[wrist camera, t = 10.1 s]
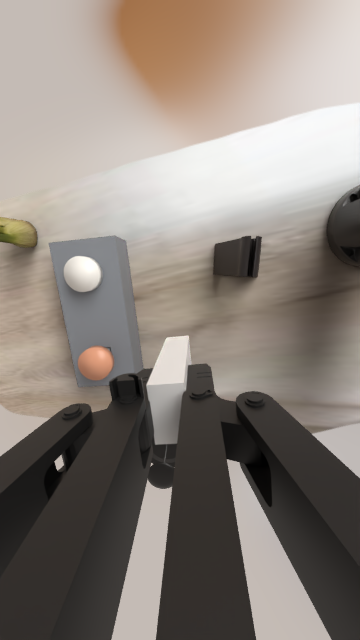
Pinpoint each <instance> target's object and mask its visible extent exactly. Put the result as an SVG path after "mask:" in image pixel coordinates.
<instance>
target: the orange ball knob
mask: <svg viewBox="0 0 360 640" xmlns="http://www.w3.org/2000/svg"><path fill="white" fill-rule="evenodd" d="M113 367H114V357H113V355H112V353H111V347H103V346H92V347H90V348H88V349H87V350H85V351H84V352H83V353H82V354H81V355H80V356H79V359H78V368H79V370H80V372H81V373H82V374H83V375H84V376H85V377H86V378H88V379H90V380H101V379H104V378H105V377H106V376H107V375H108V374H109V373H110V372H111V370H112V369H113Z"/></svg>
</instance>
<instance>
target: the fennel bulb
mask: <svg viewBox="0 0 360 640" xmlns="http://www.w3.org/2000/svg"><path fill="white" fill-rule="evenodd" d="M0 242H5V243H11V244H14V245H16V246H19V247H25V248H29V247H34V246H35V245H36V244H37V231H36V229H35V227H34V226H33V225H32V224H31V223H29V222H27V221H22V220H15V219H9V218H3V217H0Z"/></svg>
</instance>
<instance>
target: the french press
mask: <svg viewBox="0 0 360 640" xmlns="http://www.w3.org/2000/svg"><path fill="white" fill-rule="evenodd" d="M152 448H153V456H152V461H151V463H153V465H152V466H151V467H150V470H149V474H148V480H149V482H150V483H151V484H152V485H153V486H155V487H157V488H161V489H166V488H170V487H172V486H173V477H174V467H175V458H176V449H177V444H158V445H155V439H154V435H153V439H152Z"/></svg>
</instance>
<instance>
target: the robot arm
mask: <svg viewBox="0 0 360 640" xmlns="http://www.w3.org/2000/svg"><path fill="white" fill-rule="evenodd" d="M327 236H328V241H329V245H330V247H331V249H332V251H333V252H334V254H335V255H336V256H337V257H338V258H339V259H340V260H342V261H343V262H345V263H347V264H350V265H354V266H360V185H359V186H357V187H355V188H353V189H351V190H350V191H349V192H347V193H346V194H345V195H344V196H343V197H342V198H341V199H340V200H339V201H338V202H337V204H336V205H335V207H334V208H333V210H332V212H331V215H330V218H329V221H328V227H327ZM109 385H110V391H111V396H112V402H111V403H110V405H109V406H108V408H107V409H105V410H101V411H97V412H93V413H92V411H91V407H90V406H89V405H88V404H75V405H74V404H73V405H70V406H69V407H66V408H64V409H63V410H61V411H59V412H58V413H57V414H55V415H54V416H53V417H51V418H50V419H49V420H48V421H46V422H45V423H44V424H42V425H41V426H40V427H38V428H37V429H36V430H34V431H33V432H32V433H31V434H29V435H28V436H27V437H25V438H24V439H23V440H21V441H20V442H19V443H17V444H16V445H15V446H14V447H12V448H11V449H10V450H9V451H7V452H6V453H4V454H3V455H2V456H0V640H111V638H112V634H113V629H114V625H115V620H116V616H117V612H118V607H119V603H120V598H121V594H122V589H123V585H124V581H125V576H126V571H127V567H128V563H129V558H130V554H131V549H132V545H133V540H134V536H135V532H136V527H137V523H138V518H139V514H140V510H141V505H142V501H143V496H144V492H145V487H146V483H147V478H148V474H149V470H150V465H151V461H152V456H153V448H152V439H153V435H154V439H155V445H158V444H177V449H176V458H175V467H174V477H173V486H172V495H171V505H170V514H169V523H168V533H167V542H166V551H165V561H164V570H163V579H162V588H161V598H160V607H159V616H158V625H157V635H156V640H256V636H255V631H254V624H253V618H252V612H251V605H250V599H249V594H248V587H247V581H246V576H245V569H244V563H243V556H242V550H241V545H240V539H239V532H238V526H237V520H236V514H235V508H234V501H233V495H232V490H231V484H230V477H229V471H228V465H227V459H229V460H233V461H237V462H240V466H241V468H242V471H243V473H244V474H245V476H246V478H247V480H248V482H249V484H250V486H251V488H252V490H253V491H254V493H255V495H256V497H257V499H258V501H259V503H260V505H261V507H262V509H263V510H264V512H265V514H266V516H267V518H268V520H269V522H270V524H271V525H272V527H273V529H274V531H275V533H276V535H277V537H278V538H279V541H280V542H281V545H282V546H283V548H284V550H285V552H286V554H287V556H288V558H289V560H290V561H291V563H292V565H293V567H294V569H295V571H296V573H297V575H298V577H299V579H300V580H301V582H302V584H303V586H304V588H305V590H306V592H307V594H308V596H309V598H310V599H311V601H312V603H313V605H314V607H315V609H316V611H317V613H318V614H319V617H320V618H321V620H322V622H323V624H324V626H325V628H326V630H327V632H328V634H329V635H330V637H331V639H332V640H360V478H359V477H358V476H356V475H355V474H354V473H353V472H352V471H351V470H350V469H349V468H348V467H347V466H345V464H343V463H342V462H341V461H340V460H339V459H338V458H337V457H336V456H335V455H334V454H333V453H331V452H330V451H329V450H328V449H327V448H326V447H325V446H324V445H323V444H322V443H321V442H319V441H318V440H317V439H316V438H315V437H314V436H313V435H312V434H311V433H310V432H309V431H308V430H306V429H305V428H304V427H303V426H302V425H301V424H300V423H299V422H298V421H297V420H296V419H295V418H293V417H292V416H291V415H290V414H289V413H288V412H287V411H286V410H285V409H284V408H283V407H281V406H280V405H279V404H278V403H277V402H276V401H275V400H274V399H273V398H272V397H270V396H268V395H267V394H264V393H261V392H255V391H251V392H245V393H242V394H240V395H239V396H238V397H237V398H236V402H233V401H227V400H224V399H221V398H220V397H218V396H217V395H216V393H215V391H214V385H213V378H212V372H211V367H210V366H208V365H207V364H195V365H192V363H191V354H190V344H189V336H178V337H167V338H166V340H165V342H164V345H163V347H162V349H161V352H160V354H159V357H158V359H157V361H156V364H155V366H154V368H152V369H142V370H141V371H140V372H138V373H137V374H136V373H127V374H122V375H119V376H116V377H115V378H113V379H111V380H110V381H109ZM61 454H62V458H63V462H64V466H63V467H62V468H61V469H59V470H58V471H57V469H56V466H55V462H54V461H55V460H56V459H57V458H58V457H59V456H60V455H61Z"/></svg>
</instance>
